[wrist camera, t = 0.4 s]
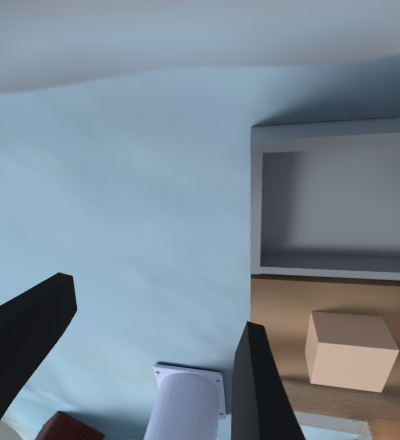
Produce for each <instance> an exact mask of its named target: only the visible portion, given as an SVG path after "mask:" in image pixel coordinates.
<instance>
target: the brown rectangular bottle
mask: <svg viewBox="0 0 400 440" xmlns="http://www.w3.org/2000/svg"><path fill="white" fill-rule="evenodd" d="M104 436H105V435H104V434H102V433H100V432H98V431H96V430H94V429H92V428H90V427H88V426H86V425H85V424H83V423H81V422H79V421H77V420H75V419H73V418H71V417H69V416H67V415H66V414H64V413H62V412H60V411H58V412H57V413H55V414H54V415H53V416H52V417H51V418H50V419H49V420H48V421H47V422H46V423H45V424H44V425H43V427H42V429H41V430H40V432H39V434H38V435H37V437H36V439H35V440H103V438H104Z"/></svg>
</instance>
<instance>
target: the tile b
mask: <svg viewBox="0 0 400 440" xmlns="http://www.w3.org/2000/svg"><path fill="white" fill-rule="evenodd" d="M399 351H400V350H399V348H398V347H397V345H396V343H395V341H394V339H393V337H392V335H391V333H390V331H389V330H388V328H387V326H386V324H385V322H384V320H383V318H382V317H379V316H366V315H352V314H339V313H326V312H313V311H311V315H310V321H309V328H308V334H307V340H306V346H305V355H306V361H307V366H308V372H309V377H310V383H311V384H319V385H327V386H335V387H342V388H350V389H358V390H365V391H373V392H382V390H383V387H384V385H385V383H386V381H387V378H388V376H389V374H390V371H391V369H392V367H393V364H394V362H395V360H396V357H397V355H398V353H399Z"/></svg>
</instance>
